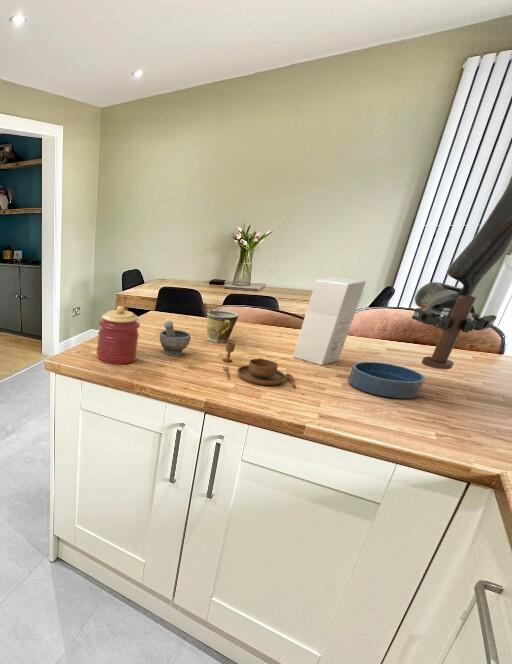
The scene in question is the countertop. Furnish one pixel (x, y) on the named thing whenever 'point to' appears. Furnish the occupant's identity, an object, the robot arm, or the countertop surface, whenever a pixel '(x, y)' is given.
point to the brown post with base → (450, 334)
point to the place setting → (258, 370)
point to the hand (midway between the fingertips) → (456, 326)
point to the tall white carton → (328, 319)
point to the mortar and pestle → (173, 340)
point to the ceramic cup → (220, 325)
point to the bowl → (386, 379)
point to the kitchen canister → (118, 336)
